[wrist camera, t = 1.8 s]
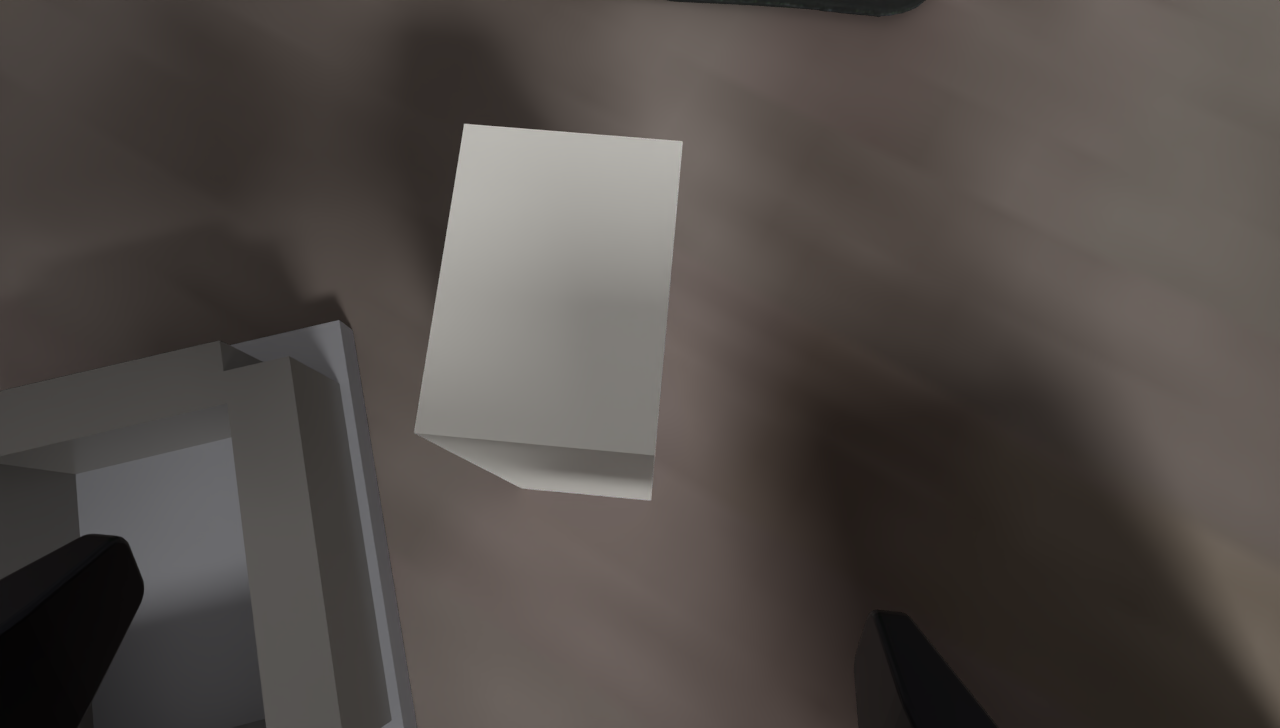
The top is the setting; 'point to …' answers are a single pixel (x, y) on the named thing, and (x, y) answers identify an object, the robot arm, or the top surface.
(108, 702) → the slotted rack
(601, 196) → the plain light grey box
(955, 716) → the robot arm
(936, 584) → the top surface
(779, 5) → the mouse mat
